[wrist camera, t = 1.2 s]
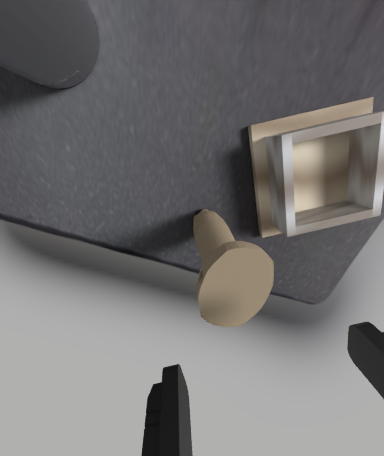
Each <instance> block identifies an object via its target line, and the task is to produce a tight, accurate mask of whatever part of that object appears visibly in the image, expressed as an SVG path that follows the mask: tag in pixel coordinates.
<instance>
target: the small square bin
mask: <svg viewBox="0 0 384 456" xmlns="http://www.w3.org/2000/svg"><path fill="white" fill-rule="evenodd" d="M372 108H373V97H371V98H367V99H363V100H358V101H354V102H350V103H345V104H341V105H337V106H332V107H328V108H324V109H320V110H315V111H311V112H307V113H302V114H298V115H294V116H289V117H285V118H281V119H277V120H272V121H268V122H264V123H259V124H255V125H251V126H248V132H249V141H250V150H251V160H252V169H253V178H254V187H255V196H256V206H257V215H258V224H259V233H260V236H261V237H262V238H263V237H268V236H272V235H276V234H280V233H283V234H284V235H286V236H287V237H289V236H294V235H298V234H302V233H306V232H311V231H315V230H319V229H324V228H328V227H332V226H336V225H341V224H345V223H349V222H354V221H358V220H362V219H366V218H371V217H375V216H379V215H381V207H382V198H383V189H384V111H380V112H374V113H372Z"/></svg>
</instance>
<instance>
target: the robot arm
mask: <svg viewBox="0 0 384 456" xmlns="http://www.w3.org/2000/svg"><path fill="white" fill-rule="evenodd" d="M98 41H99V39H98V32H97V26H96V22H95V19H94V16H93V13H92V11H91V9H90V7H89V5H88V3H87V1H86V0H0V67H3V68H5V69H7V70H9V71H11V72H13V73H15V74H18V75H20V76H22V77H24V78H26V79H29V80H31V81H33V82H35V83H37V84H40V85H43V86H46V87H48V88H56V89H62V88H69V87H72V86H75V85H77V84H79V83H80V82H81V81H83V80H84V79H85V78H86V77H87V76H88V75H89V73H90V72H91V70H92V68H93V66H94V64H95V62H96V58H97V54H98ZM348 353H349V355H350V357H351V359H352V361H353V362H354V364H355V365H356V366H357V367H358V368H359V370H360V371H361V372H362V373H363V374H364V376H365V377H366V378H367V379H368V380H369V382H370V383H371V384H372V385H373V386H374V388H375V389H376V390H377V391H378V392H379V394H380V395H381V396H382V397H383V398H384V332H383V333H382V332H380V331H379V330H378V329H377V328H376V327H375V326H374V325H373V324H371V323H369V322H363V323H359V324H354V325H350V326H349V332H348ZM162 374H163V375H162V382H161V383H157V384H154V385H153V387H152V389H151V392H150V394H149V396H148V399H147V409H146V419H145V429H144V438H143V448H142V456H192V441H191V426H190V408H189V396H188V390H187V385H186V382H185V379H184V376H183V373H182V370H181V367H180V365H179V364H177V365H173V366H168V367H164V368H163V373H162Z"/></svg>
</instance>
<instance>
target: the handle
mask: <svg viewBox="0 0 384 456" xmlns="http://www.w3.org/2000/svg"><path fill="white" fill-rule="evenodd" d="M193 222H194V225H193V232H194V239H195V243H196V246H197V248H198V251H199V254H200V256H201V259H202V262H203V266H202V268H201V270H200V273H199V277H198V282H197V295H198V302H199V308H200V313H201V317H202V318H203V319H204V320H206V321H207V322H209V323H211V324H213V325H217V326H222V327H235V326H239V325H243V324H244V323H245V322H247V321H248V320H249V319H250V318H251V317H253V316H254V315H255V314H256V313H257V312H258V311H259V310H260V309H261V307H262V306H263V305H264V303H265V301H266V299H267V297H268V295H269V293H270V291H271V289H272V286H273V280H274V264H273V261H272V260H271V258H270V257H269V256H268V255H267V254H266V253H265V252H264V251H263V250H262V249H261V248H260V247H258V246H256V245H254V244H252V243H249V242H244V241H235V239H234V237H233V235H232V233H231V231H230V229H229V227H228V226H227V224H226V223H225V222H224V220H223V219H222V218H221V217H220V216H218V215H217V214H216V213H215V212H214V211H208V210H206V209H202V211H201V212H200V213H199V214H197V215H195V216H194V219H193Z"/></svg>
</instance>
